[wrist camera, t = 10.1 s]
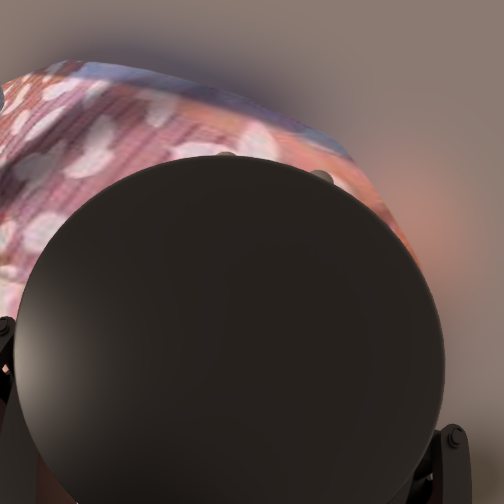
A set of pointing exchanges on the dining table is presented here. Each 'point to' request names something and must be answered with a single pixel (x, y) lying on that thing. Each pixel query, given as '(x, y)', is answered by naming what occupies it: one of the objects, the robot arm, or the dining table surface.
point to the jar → (228, 342)
